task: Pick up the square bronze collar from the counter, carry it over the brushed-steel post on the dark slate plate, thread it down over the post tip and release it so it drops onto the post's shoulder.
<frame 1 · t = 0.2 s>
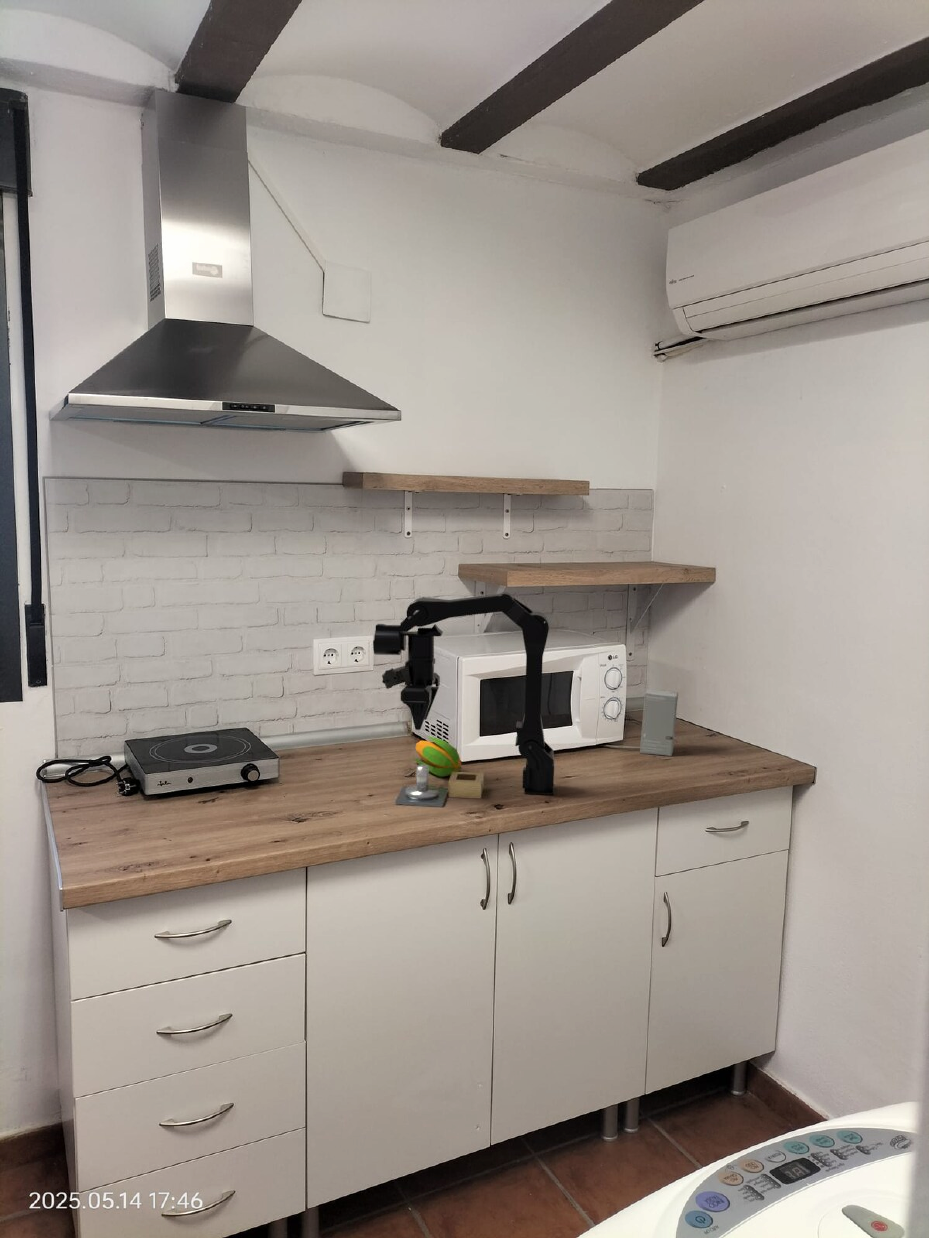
hand: (421, 724, 203), 14 cm above the worktop, fingers open, 9 cm apart
skincare box: (657, 752, 236), on the worktop
post: (422, 797, 196), on the worktop
collar: (466, 792, 200), on the worktop
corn: (434, 770, 217), on the worktop
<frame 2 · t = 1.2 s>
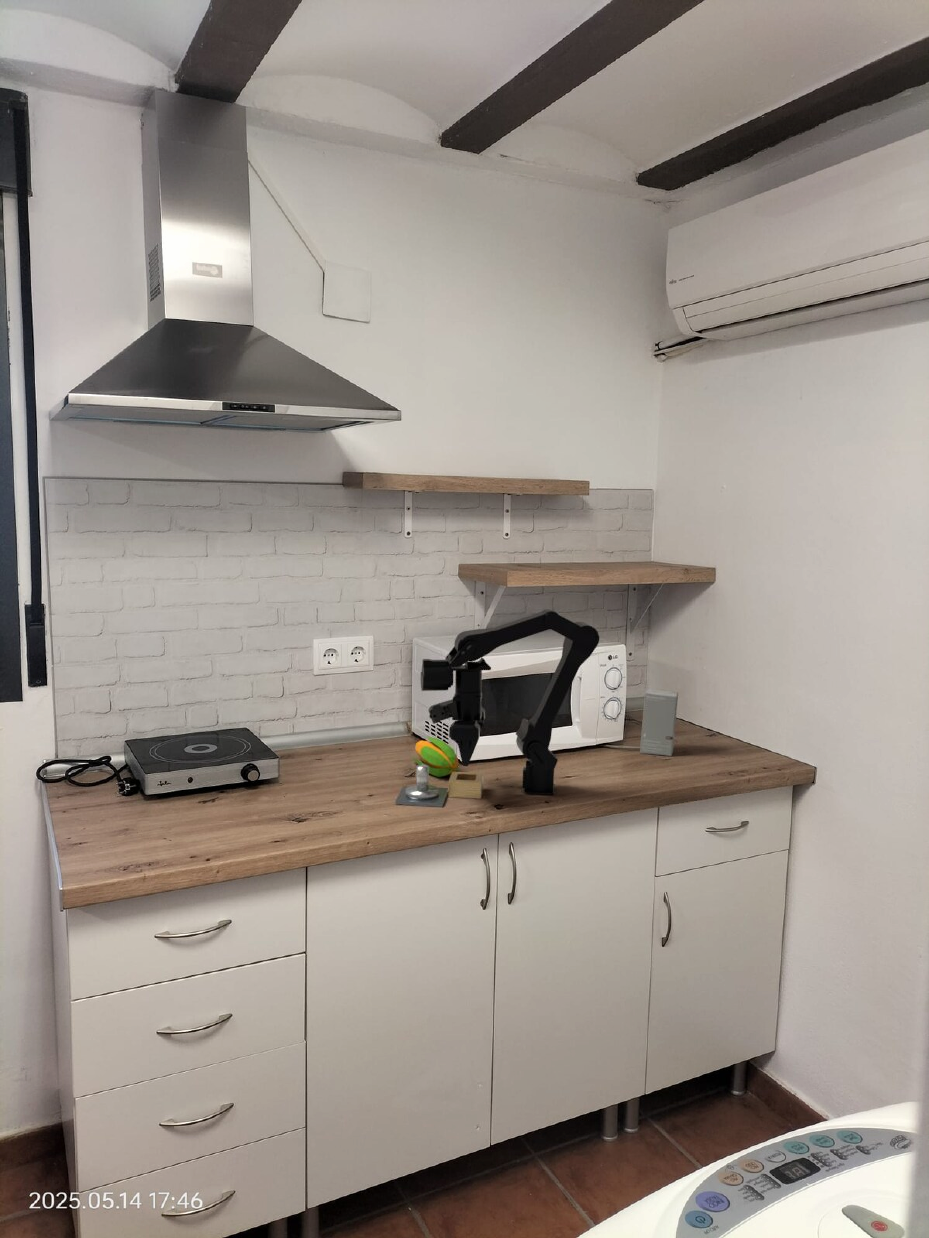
hand: (467, 759, 199), 7 cm above the worktop, fingers open, 9 cm apart
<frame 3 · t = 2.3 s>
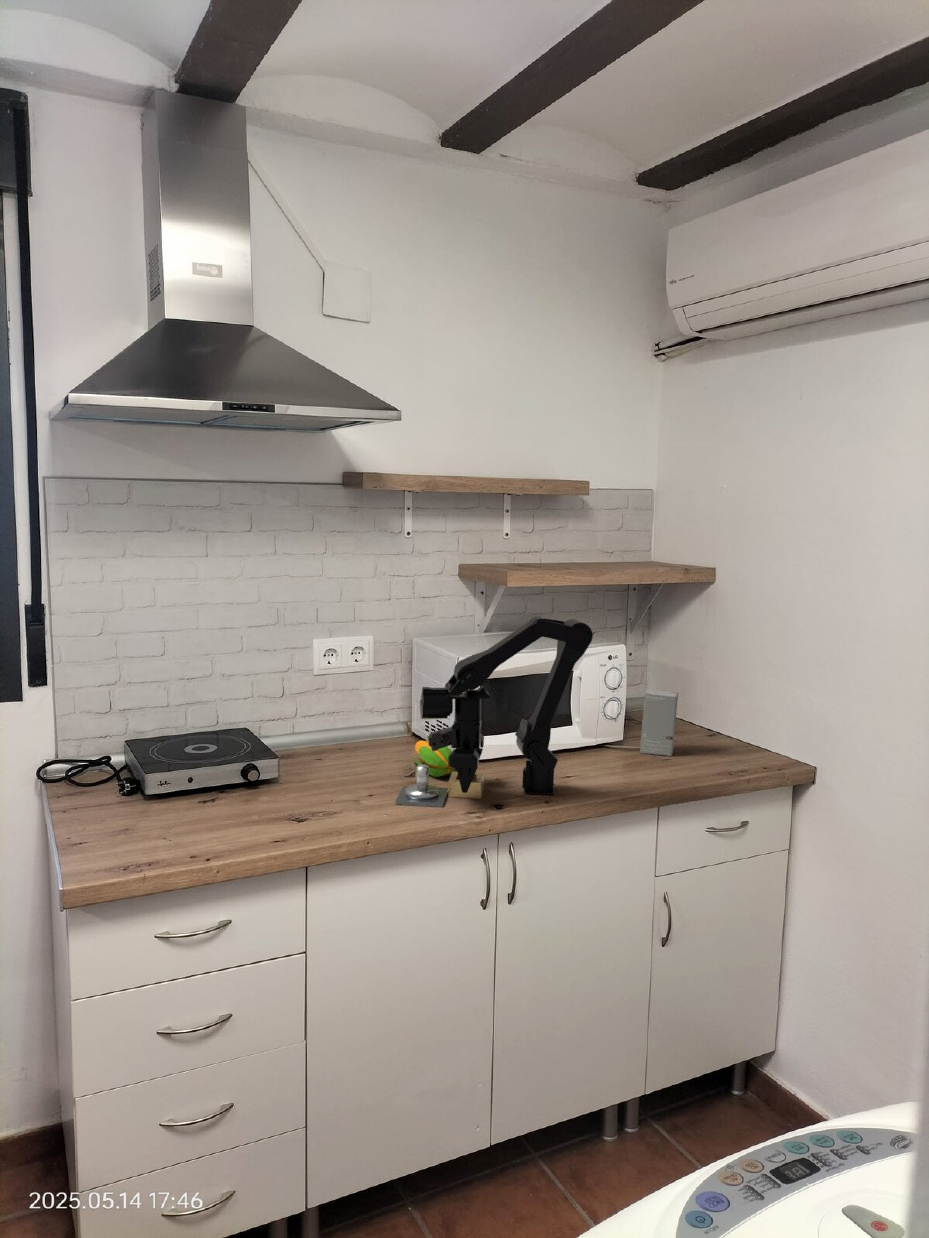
hand: (466, 787, 200), 1 cm above the worktop, fingers closed on collar, 7 cm apart
collar: (466, 792, 200), on the worktop, touching gripper
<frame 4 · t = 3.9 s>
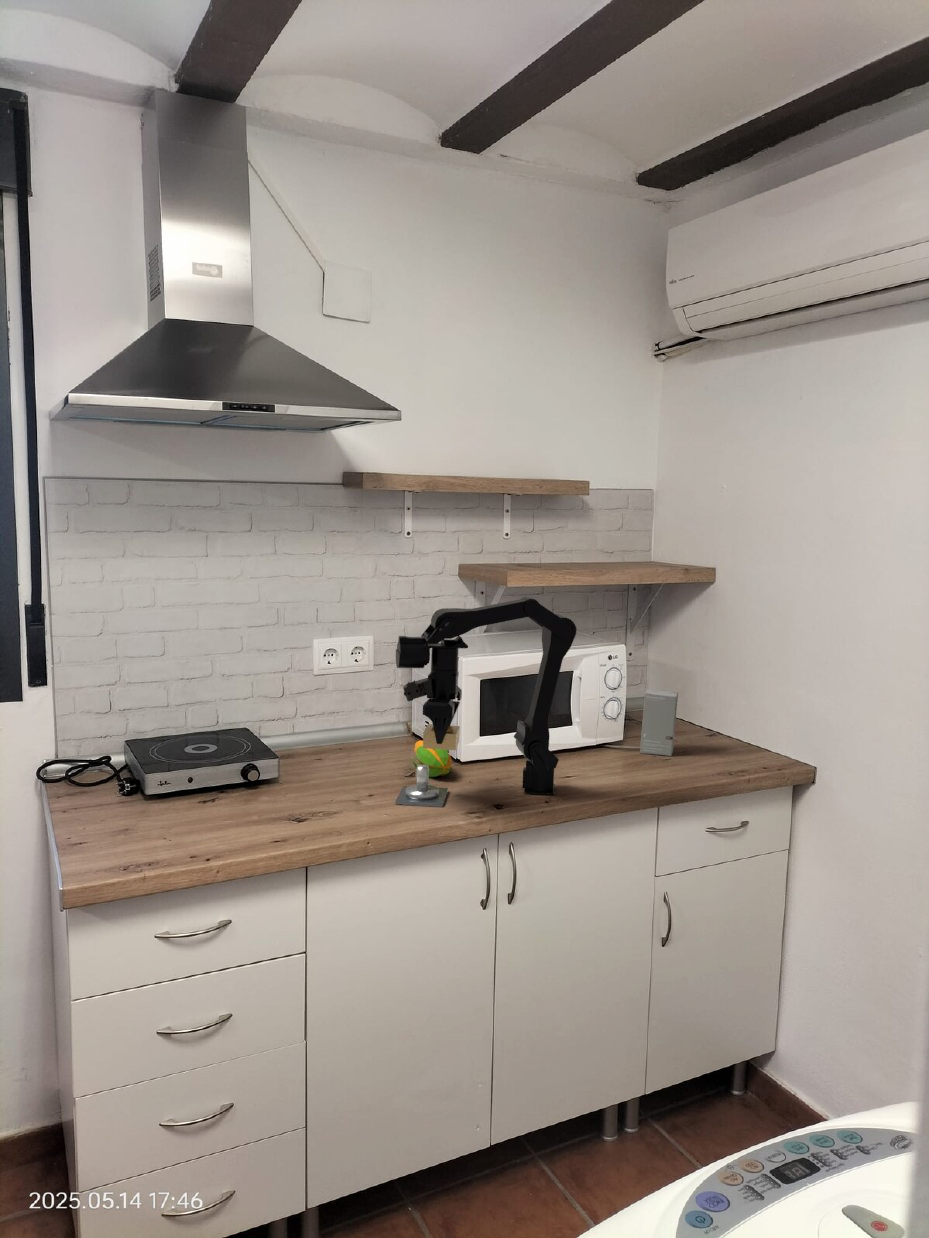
hand: (441, 739, 196), 13 cm above the worktop, fingers closed on collar, 7 cm apart
collar: (441, 744, 197), point 11 cm above the worktop, touching gripper
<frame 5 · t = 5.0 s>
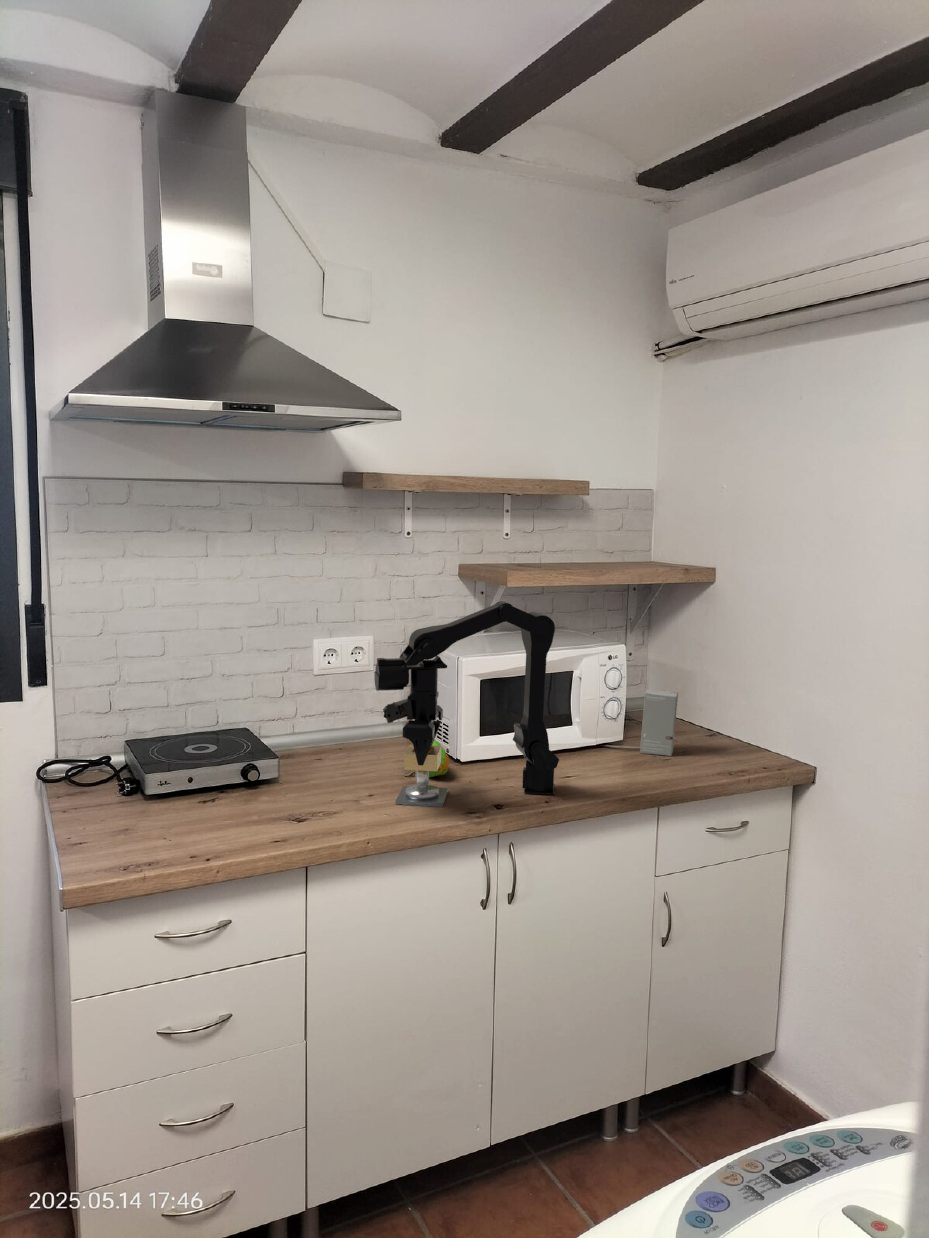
hand: (423, 760, 195), 8 cm above the worktop, fingers closed on collar, 7 cm apart
collar: (422, 765, 195), point 7 cm above the worktop, touching gripper
when the fingers open (7 cm above the worktop, at t = 5.8 s): collar drops 4 cm, resting on post.
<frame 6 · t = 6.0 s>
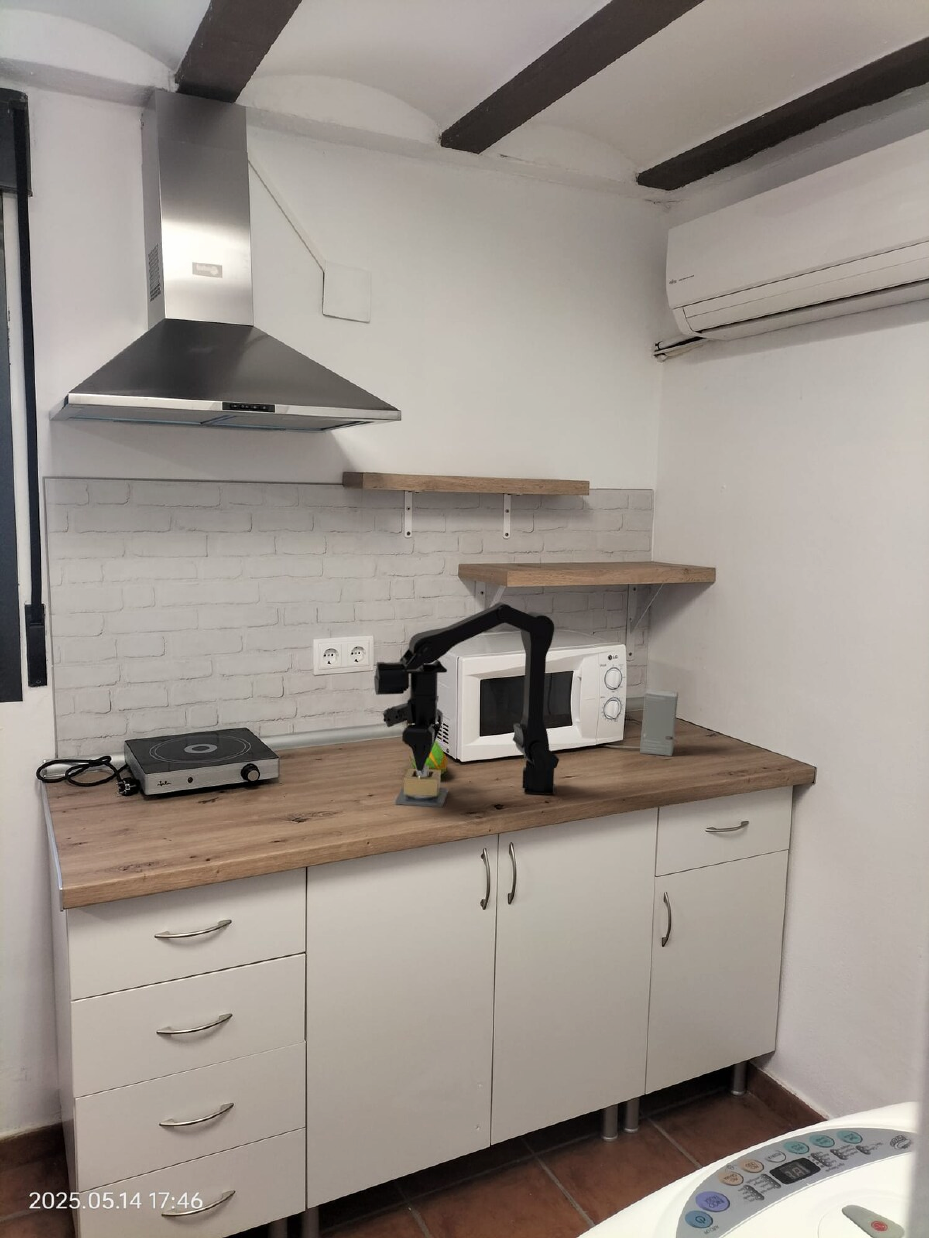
hand: (422, 764, 195), 7 cm above the worktop, fingers open, 9 cm apart
collar: (422, 789, 196), point 2 cm above the worktop, touching post
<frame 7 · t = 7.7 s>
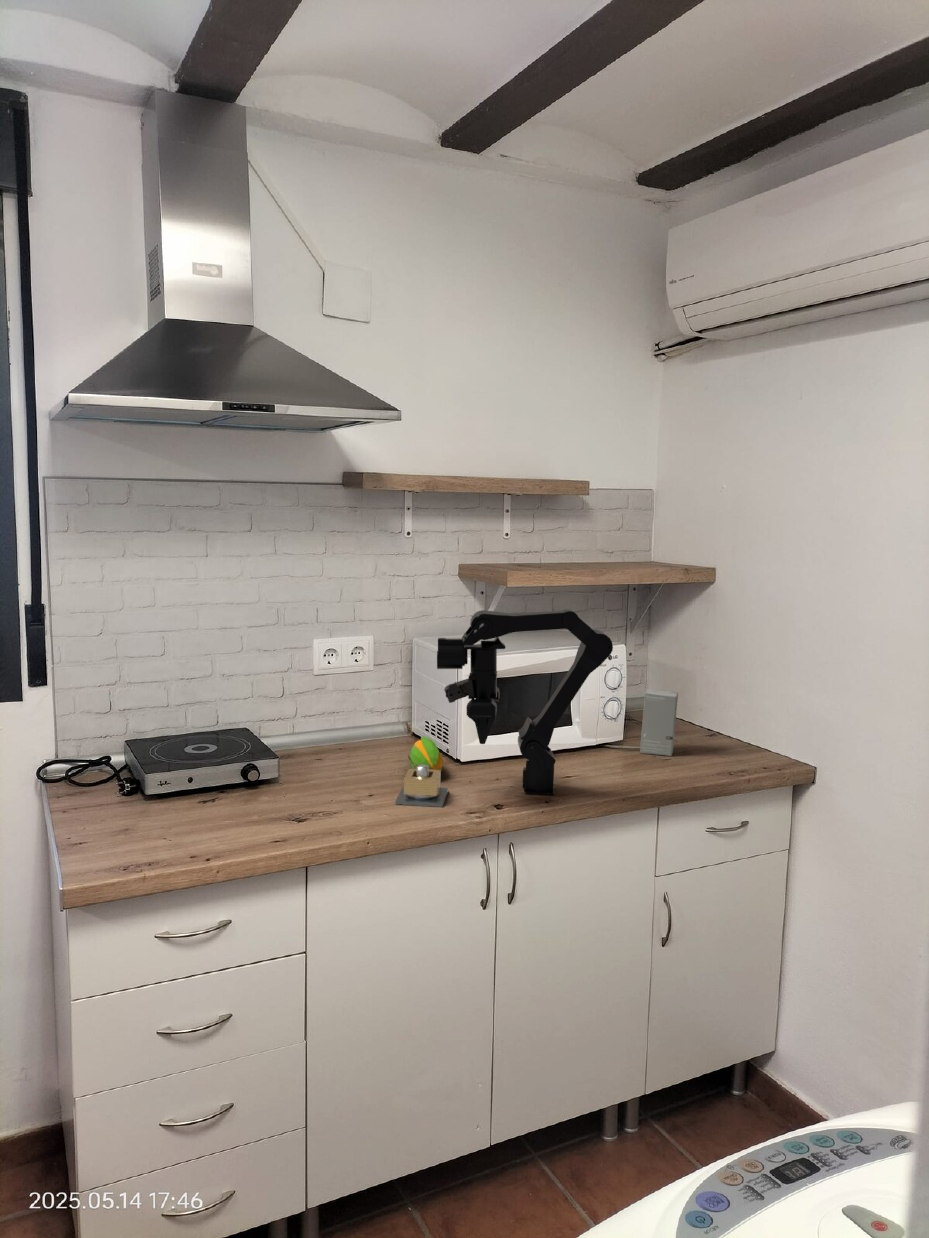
hand: (483, 738, 201), 12 cm above the worktop, fingers open, 9 cm apart
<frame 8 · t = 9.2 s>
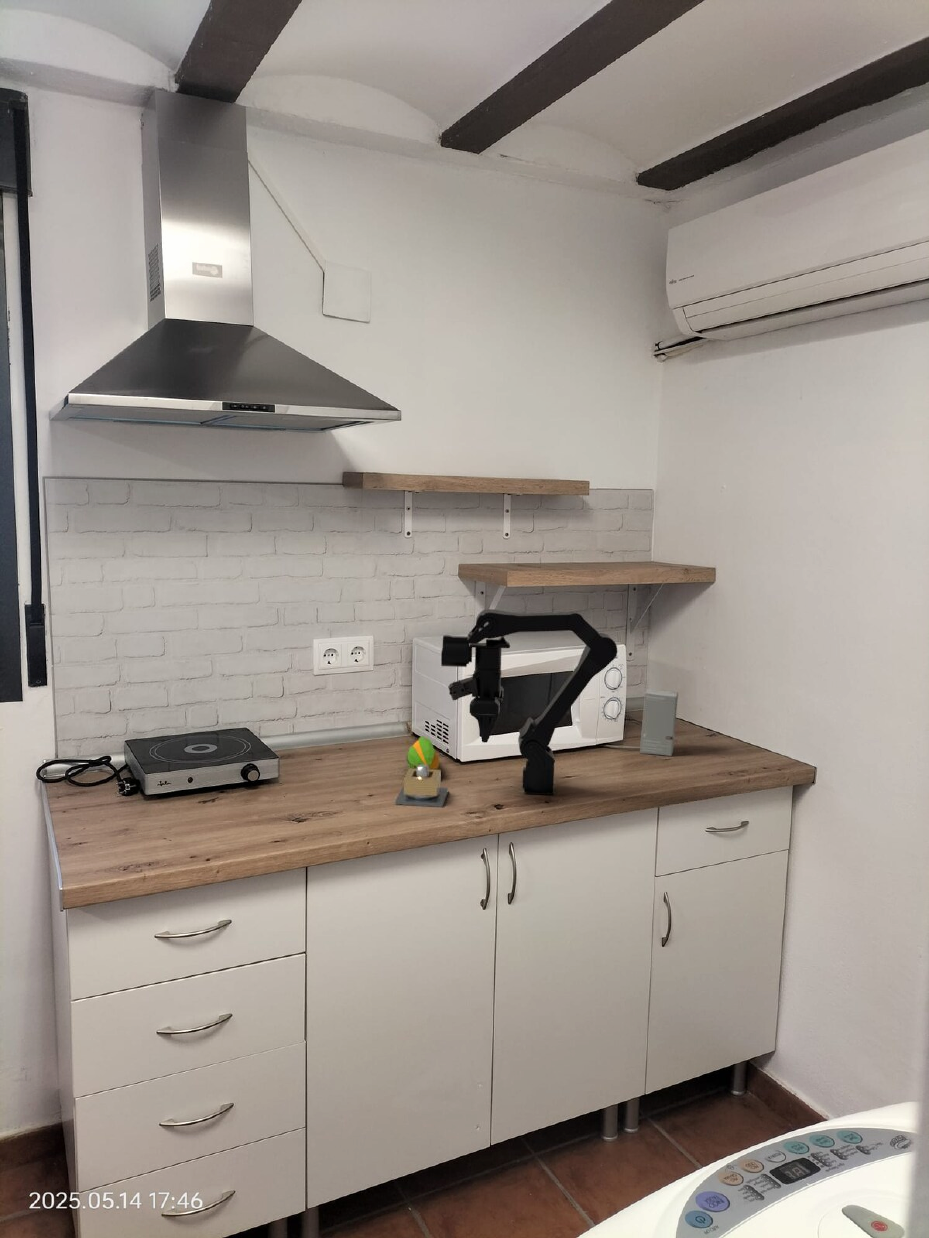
hand: (486, 736, 201), 12 cm above the worktop, fingers open, 9 cm apart
at the end: collar 0.0 cm off-centre on the post, point 1.8 cm above the post's base; collar tilted 0°; the gripper is holding nothing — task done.
